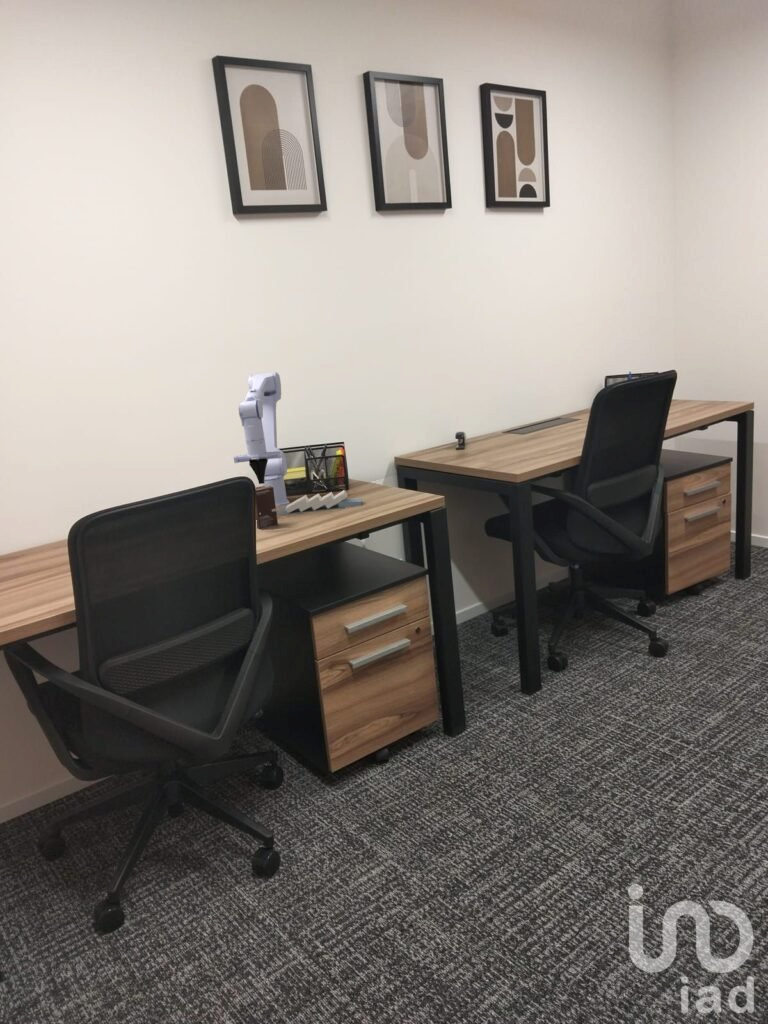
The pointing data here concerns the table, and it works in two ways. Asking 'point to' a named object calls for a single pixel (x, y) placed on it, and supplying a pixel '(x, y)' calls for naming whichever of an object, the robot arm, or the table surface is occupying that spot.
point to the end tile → (350, 502)
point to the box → (265, 507)
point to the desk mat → (283, 511)
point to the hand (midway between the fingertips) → (261, 483)
